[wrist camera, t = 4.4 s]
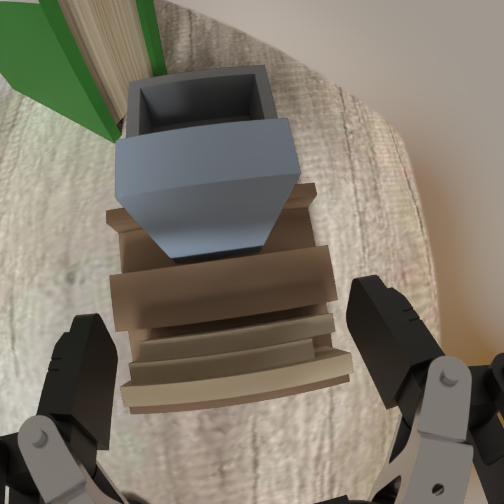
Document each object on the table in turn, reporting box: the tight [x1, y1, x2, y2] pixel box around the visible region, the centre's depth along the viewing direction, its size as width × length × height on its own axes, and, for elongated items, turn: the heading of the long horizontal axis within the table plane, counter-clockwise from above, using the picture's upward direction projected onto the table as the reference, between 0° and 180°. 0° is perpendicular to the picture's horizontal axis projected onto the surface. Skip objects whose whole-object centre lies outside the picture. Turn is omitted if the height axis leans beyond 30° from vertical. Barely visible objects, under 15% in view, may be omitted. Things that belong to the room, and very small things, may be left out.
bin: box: [126, 65, 278, 138], centre depth 21 cm, size 6×9×6 cm, turn 99°
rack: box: [106, 183, 350, 414], centre depth 20 cm, size 13×13×4 cm
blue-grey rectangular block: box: [115, 118, 301, 264], centre depth 15 cm, size 2×6×12 cm, turn 99°
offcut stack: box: [120, 313, 354, 407], centre depth 17 cm, size 3×11×6 cm, turn 99°
